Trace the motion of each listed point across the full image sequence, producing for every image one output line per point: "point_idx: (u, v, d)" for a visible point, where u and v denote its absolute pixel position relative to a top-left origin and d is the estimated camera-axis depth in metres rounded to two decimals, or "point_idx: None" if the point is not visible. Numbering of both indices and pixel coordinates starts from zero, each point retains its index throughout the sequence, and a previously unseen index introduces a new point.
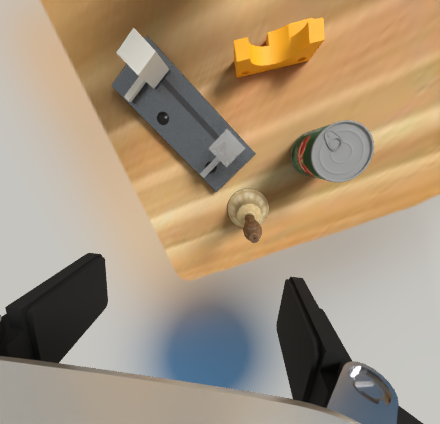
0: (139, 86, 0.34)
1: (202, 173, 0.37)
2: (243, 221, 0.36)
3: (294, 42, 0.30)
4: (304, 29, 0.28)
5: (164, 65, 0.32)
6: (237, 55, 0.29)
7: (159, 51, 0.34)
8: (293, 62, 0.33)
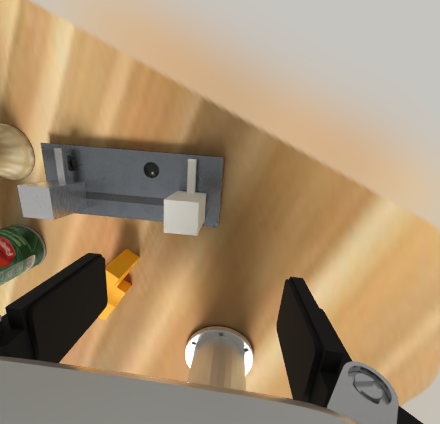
0: (187, 182, 0.27)
1: (59, 151, 0.27)
2: None
3: None
4: None
5: None
6: (107, 272, 0.28)
7: None
8: None
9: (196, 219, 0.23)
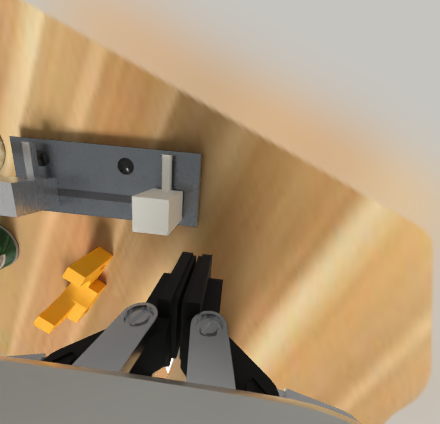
0: (162, 179, 0.26)
1: (27, 145, 0.26)
2: None
3: (67, 304, 0.31)
4: (59, 317, 0.30)
5: None
6: (72, 271, 0.26)
7: None
8: None
9: (166, 218, 0.22)
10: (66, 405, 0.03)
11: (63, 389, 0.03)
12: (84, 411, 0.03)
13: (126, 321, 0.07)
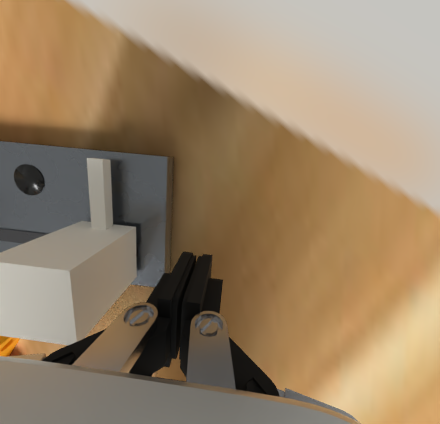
0: (91, 206, 0.13)
1: None
2: None
3: None
4: None
5: None
6: None
7: None
8: None
9: (69, 310, 0.09)
10: (66, 405, 0.03)
11: (63, 389, 0.03)
12: (84, 411, 0.03)
13: (126, 321, 0.07)
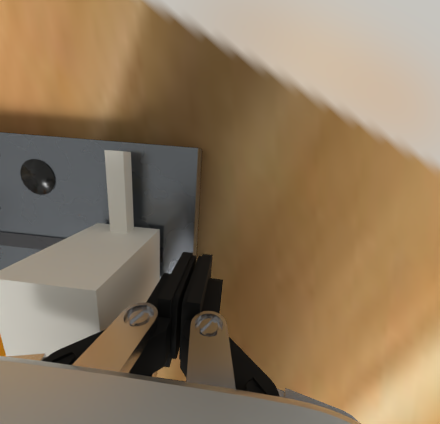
0: (109, 207, 0.11)
1: None
2: None
3: None
4: None
5: None
6: None
7: None
8: None
9: None
10: (66, 405, 0.03)
11: (63, 389, 0.03)
12: (84, 411, 0.03)
13: (126, 321, 0.07)
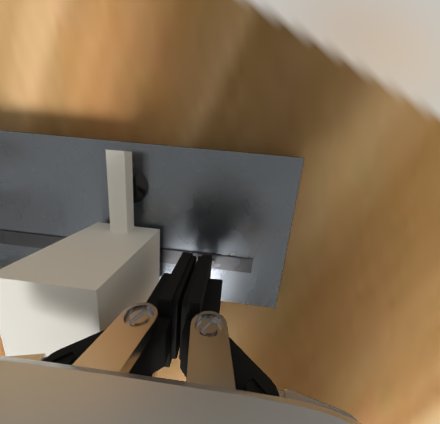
0: (110, 206, 0.11)
1: None
2: None
3: None
4: None
5: None
6: None
7: (233, 299, 0.14)
8: None
9: None
10: (66, 405, 0.03)
11: (63, 389, 0.03)
12: (84, 411, 0.03)
13: (126, 321, 0.07)
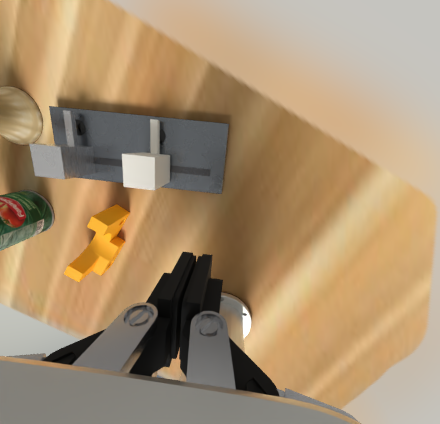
0: (150, 143, 0.28)
1: (68, 113, 0.28)
2: None
3: (92, 257, 0.34)
4: (86, 268, 0.33)
5: None
6: (96, 220, 0.29)
7: (202, 190, 0.31)
8: None
9: (153, 174, 0.25)
10: (66, 405, 0.03)
11: (63, 389, 0.03)
12: (84, 411, 0.03)
13: (126, 321, 0.07)
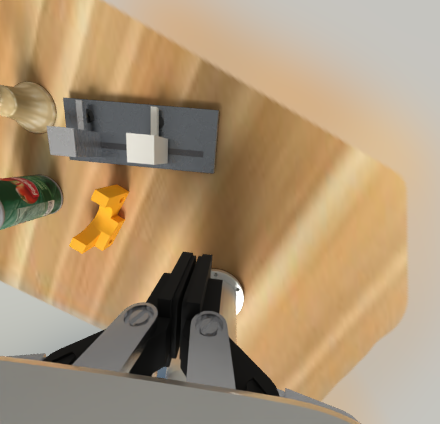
0: None
1: (80, 102, 0.32)
2: None
3: (94, 232, 0.38)
4: (89, 241, 0.36)
5: None
6: (98, 193, 0.33)
7: (197, 170, 0.35)
8: None
9: (152, 150, 0.29)
10: (66, 405, 0.03)
11: (63, 389, 0.03)
12: (84, 411, 0.03)
13: (126, 321, 0.07)
